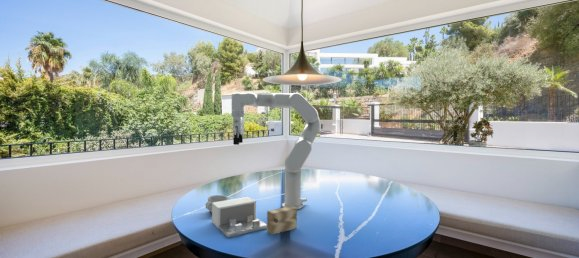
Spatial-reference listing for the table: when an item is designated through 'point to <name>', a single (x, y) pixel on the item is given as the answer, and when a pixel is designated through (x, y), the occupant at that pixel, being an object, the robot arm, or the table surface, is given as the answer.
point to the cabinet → (232, 210)
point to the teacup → (214, 200)
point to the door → (281, 219)
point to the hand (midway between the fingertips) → (238, 143)
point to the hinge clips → (241, 226)
